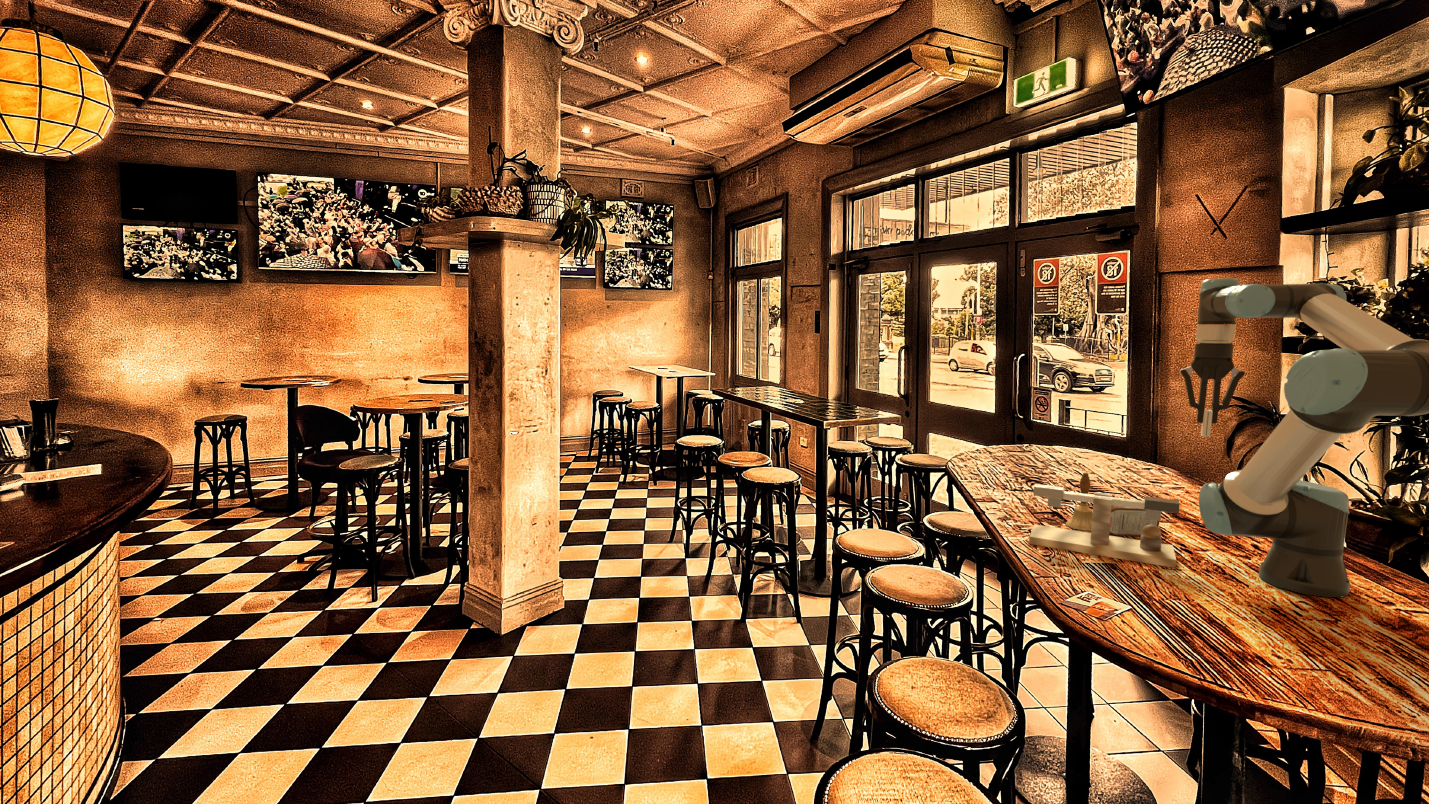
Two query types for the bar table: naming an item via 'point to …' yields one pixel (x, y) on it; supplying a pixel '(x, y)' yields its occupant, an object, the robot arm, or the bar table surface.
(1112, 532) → the tin
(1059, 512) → the bar table surface
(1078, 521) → the hand bell
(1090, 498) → the lever
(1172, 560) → the press base
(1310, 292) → the robot arm
